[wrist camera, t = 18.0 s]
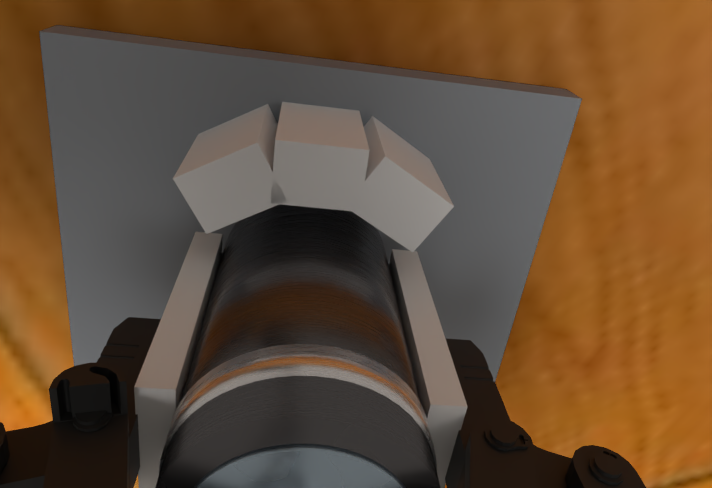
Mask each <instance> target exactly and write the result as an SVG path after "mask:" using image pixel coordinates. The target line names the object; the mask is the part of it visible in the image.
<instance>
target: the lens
mask: <svg viewBox="0 0 712 488" xmlns="http://www.w3.org/2000/svg"><path fill="white" fill-rule="evenodd" d="M155 488H440V484H439V479H438V475H437V461H436V455H435V450H434V446H433V441H432V437H431V433H430V429H429V424H428V420H427V417H426V414H425V412H424V409H423V406H422V405H421V401H420V397H419V393H418V389H417V384H416V380H415V376H414V371H413V367H412V363H411V358H410V354H409V350H408V345H407V341H406V337H405V332H404V328H403V324H402V319H401V315H400V311H399V306H398V302H397V298H396V294H395V289H394V285H393V281H392V276H391V272H390V268H389V263H388V259H387V255H386V250H385V247H384V244H383V241H382V238H381V236H380V234H379V232H378V230H377V229H376V227H374V226H373V225H371V224H370V223H368V222H367V221H365V220H364V219H362V218H361V217H359V216H358V215H356V214H355V213H353V212H352V211H344V210H334V209H323V208H313V207H303V206H292V205H282V204H279V205H276V206H274V207H272V208H269V209H267V210H264V211H262V212H259V213H257V214H254V215H252V216H250V217H247V218H245V219H242V220H240V221H238V222H237V223H236V224H235V225H234V227H233V228H232V230H231V232H230V233H229V236H228V238H227V240H226V243H225V246H224V250H223V253H222V257H221V260H220V264H219V267H218V271H217V274H216V278H215V281H214V284H213V288H212V291H211V295H210V298H209V302H208V305H207V309H206V312H205V316H204V319H203V323H202V326H201V330H200V333H199V337H198V340H197V344H196V347H195V351H194V354H193V358H192V361H191V365H190V368H189V372H188V375H187V379H186V382H185V386H184V389H183V393H182V396H181V400H180V403H179V405H178V407H177V409H176V411H175V413H174V415H173V418H172V421H171V425H170V428H169V431H168V435H167V438H166V442H165V445H164V449H163V452H162V456H161V459H160V465H159V477H158V480H157V484H156V487H155Z"/></svg>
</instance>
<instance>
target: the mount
mask: <svg viewBox="0 0 712 488" xmlns="http://www.w3.org/2000/svg"><path fill="white" fill-rule="evenodd" d="M39 33H40V43H41V52H42V62H43V71H44V81H45V91H46V100H47V110H48V119H49V129H50V138H51V148H52V158H53V167H54V177H55V186H56V196H57V205H58V215H59V225H60V234H61V244H62V253H63V263H64V273H65V282H66V292H67V301H68V311H69V320H70V330H71V340H72V349H73V359H74V366H76V365H81V364H86V363H97V361H98V359H99V358H100V355H101V353H102V351H103V349H104V347H105V346H106V343H107V341H108V339H109V337H110V335H111V333H112V331H113V329H114V328H115V327H117V326H118V325H119V324H120V323H122V322H123V321H124V320H125V319H127V318H128V317H137V318H151V319H161V318H162V316H163V313H164V310H165V308H166V305H167V303H168V300H169V298H170V295H171V293H172V290H173V288H174V285H175V283H176V280H177V278H178V275H179V273H180V270H181V267H182V265H183V262H184V260H185V257H186V255H187V252H188V250H189V247H190V245H191V242H192V240H193V237H194V235H195V232H205V233H206V234H208V233H217V234H223V238H222V253H223V250H224V246H225V243H226V240H227V238H228V236H229V233H230V232H231V230H232V228H233V227H234V225H235V224H236V223H237V222H238V221H240V220H242V219H245V218H247V217H250V216H252V215H254V214H257V213H259V212H262V211H264V210H267V209H269V208H272V207H274V206H276V205H279V204H282V205H292V206H303V207H313V208H323V209H334V210H344V211H352V212H353V213H355V214H356V215H358V216H359V217H361V218H362V219H364V220H365V221H367V222H368V223H370V224H371V225H373V226H374V227H376V229H377V230H378V232H379V234H380V236H381V238H382V241H383V244H384V247H385V250H386V255H387V259H388V263H390V258H391V252H392V249H396V250H407V251H411V252H414V251H417V253H418V256H419V259H420V262H421V265H422V268H423V271H424V274H425V277H426V281H427V284H428V287H429V290H430V293H431V296H432V299H433V302H434V305H435V308H436V311H437V314H438V317H439V320H440V324H441V327H442V330H443V333H444V336H445V338H447V339H461V340H471V341H472V342H473V343H474V344H475V345H476V346H477V347H478V348H479V349H480V351H481V352H482V353H483V354H484V357H485V359H486V362H487V364H488V367H489V370H490V371H491V374H492V376H493V381H494V382H495V380H496V377H497V374H498V370H499V367H500V364H501V360H502V357H503V354H504V351H505V347H506V344H507V341H508V338H509V334H510V331H511V328H512V325H513V321H514V318H515V315H516V312H517V308H518V305H519V302H520V299H521V295H522V292H523V289H524V286H525V282H526V279H527V276H528V273H529V269H530V266H531V263H532V260H533V256H534V253H535V250H536V247H537V243H538V240H539V237H540V234H541V230H542V227H543V224H544V221H545V217H546V214H547V211H548V208H549V204H550V201H551V198H552V195H553V191H554V188H555V185H556V182H557V178H558V175H559V172H560V169H561V165H562V162H563V159H564V156H565V152H566V149H567V146H568V143H569V139H570V136H571V133H572V130H573V126H574V123H575V120H576V117H577V113H578V110H579V107H580V104H581V100H582V98H580V97H578V96H577V95H575V94H573V93H572V92H570V91H569V90H567V89H561V88H553V87H545V86H537V85H529V84H521V83H513V82H505V81H497V80H489V79H482V78H474V77H466V76H458V75H450V74H442V73H434V72H426V71H418V70H410V69H402V68H394V67H386V66H378V65H370V64H362V63H354V62H346V61H339V60H331V59H323V58H315V57H307V56H299V55H291V54H283V53H275V52H267V51H259V50H251V49H243V48H235V47H227V46H219V45H211V44H203V43H195V42H188V41H180V40H172V39H164V38H156V37H148V36H140V35H132V34H124V33H116V32H108V31H100V30H92V29H84V28H76V27H68V26H60V25H56V26H53V27H50V28H47V29H44V30H42V31H39Z"/></svg>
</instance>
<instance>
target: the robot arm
mask: <svg viewBox="0 0 712 488" xmlns="http://www.w3.org/2000/svg"><path fill="white" fill-rule="evenodd" d="M222 238H223V234H217V233H208V234H206V233H205V232H195V235H194V237H193V240H192V242H191V245H190V247H189V250H188V252H187V255H186V257H185V260H184V262H183V265H182V267H181V270H180V273H179V275H178V278H177V280H176V283H175V285H174V288H173V290H172V293H171V295H170V298H169V300H168V303H167V305H166V308H165V310H164V313H163V316H162V318H161V319H151V318H137V317H128V318H127V319H125V320H124V321H123V322H122V323H120V324H119V325H118V326H117V327H115V328H114V329H113V331H112V333H111V335H110V337H109V339H108V341H107V343H106V346H105V347H104V349H103V351H102V353H101V355H100V358H99V359H98V361H97V363H86V364H81V365H76V366H74V367H72V368H69V369H67V370H65V371H63V372H62V373H61V374H59V375H58V376H57V377H56V378H55V379H54V380H53V382H52V384H51V386H50V388H49V393H50V401H51V408H52V416H53V421H50V422H48V423H46V424H42V425H38V426H34V427H29V428H24V429H18V430H13V431H7V432H6V431H5V428H4V425H3V424H2V423H1V422H0V488H133V487H134V484H135V481H136V478H137V475H138V479H139V488H155V487H156V484H157V480H158V477H159V465H160V459H161V456H162V452H163V449H164V445H165V442H166V438H167V435H168V431H169V428H170V425H171V421H172V418H173V415H174V413H175V411H176V409H177V407H178V405H179V403H180V400H181V396H182V393H183V389H184V386H185V382H186V379H187V375H188V372H189V368H190V365H191V361H192V358H193V354H194V351H195V347H196V344H197V340H198V337H199V333H200V330H201V326H202V323H203V319H204V316H205V312H206V309H207V305H208V302H209V298H210V295H211V291H212V288H213V284H214V281H215V278H216V274H217V271H218V267H219V264H220V260H221V257H222ZM389 268H390V272H391V276H392V281H393V285H394V289H395V294H396V298H397V302H398V306H399V311H400V315H401V319H402V324H403V328H404V332H405V337H406V341H407V345H408V350H409V354H410V358H411V363H412V367H413V371H414V376H415V380H416V384H417V389H418V393H419V397H420V401H421V405H422V406H423V409H424V412H425V414H426V417H427V420H428V424H429V429H430V433H431V437H432V441H433V446H434V450H435V455H436V461H437V475H438V479H439V484H440V488H444V487H445V484H446V485H447V488H646V487H645V485H644V483H643V482H642V480H641V478H640V477H639V475H638V473H637V472H636V470H635V469H634V468H633V467H632V465H631V464H630V463H629V462H628V461H627V460H625V459H624V458H623V457H621V456H620V455H619V454H618V453H615V452H613V451H611V450H609V449H607V448H604V447H599V446H594V445H590V446H582V447H581V448H579V449H578V450H576V451H575V453H574V455H573V458H568V457H565V456H562V455H558V454H555V453H552V452H549V451H546V450H543V449H541V448H538V447H536V446H534V445H533V443H532V440H531V437H530V436H529V435H528V434H527V433H526V431H525V430H524V429H523V428H521V427H520V426H518V425H517V424H515V423H514V422H512V421H510V418H509V416H508V414H507V411H506V409H505V406H504V404H503V401H502V399H501V396H500V394H499V391H498V389H497V386H496V384H495V382H494V381H493V376H492V374H491V371H490V370H489V367H488V364H487V362H486V359H485V357H484V354H483V353H482V352H481V351H480V349H479V348H478V347H477V346H476V345H475V344H474V343H473V342H472V341H471V340H461V339H447V338H445V336H444V333H443V330H442V327H441V324H440V320H439V317H438V314H437V311H436V308H435V305H434V302H433V299H432V296H431V293H430V290H429V287H428V284H427V281H426V277H425V274H424V271H423V268H422V265H421V262H420V259H419V256H418V253H417V251H414V252H411V251H407V250H396V249H392V252H391V258H390V263H389Z"/></svg>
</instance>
